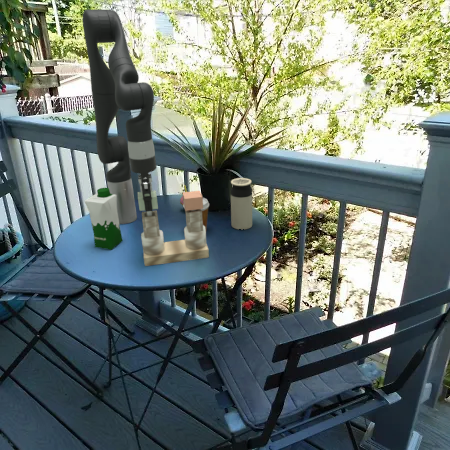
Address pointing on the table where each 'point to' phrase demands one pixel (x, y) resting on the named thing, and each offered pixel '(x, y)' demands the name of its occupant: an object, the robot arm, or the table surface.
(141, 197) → the sage plunger
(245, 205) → the travel mug
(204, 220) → the disposable coffee cup
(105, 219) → the milk carton
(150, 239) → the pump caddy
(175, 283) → the table surface
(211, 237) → the table surface
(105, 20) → the robot arm
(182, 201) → the cupcake
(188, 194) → the terracotta plunger
